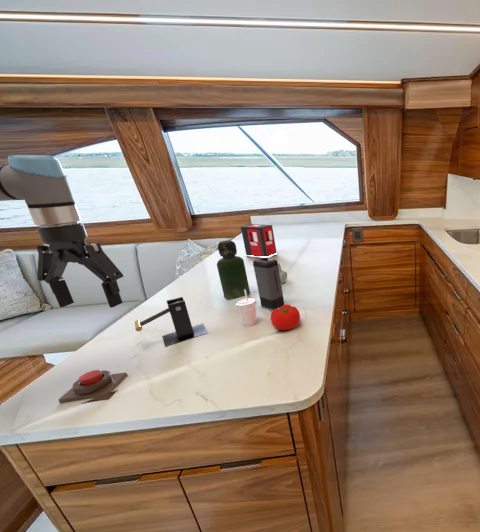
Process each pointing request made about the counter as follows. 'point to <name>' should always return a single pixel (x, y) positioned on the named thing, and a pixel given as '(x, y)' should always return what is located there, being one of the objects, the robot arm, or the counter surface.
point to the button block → (94, 388)
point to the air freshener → (282, 273)
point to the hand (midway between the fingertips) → (91, 305)
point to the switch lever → (139, 324)
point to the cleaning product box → (258, 240)
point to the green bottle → (232, 271)
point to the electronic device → (268, 283)
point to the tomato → (285, 317)
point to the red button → (90, 377)
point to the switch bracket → (181, 324)
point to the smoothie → (247, 310)
